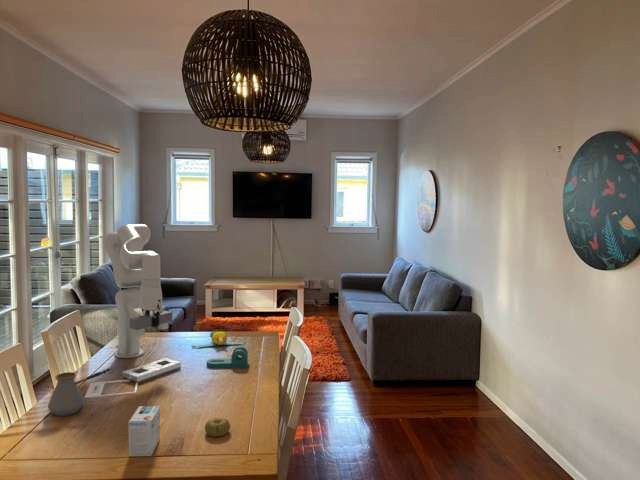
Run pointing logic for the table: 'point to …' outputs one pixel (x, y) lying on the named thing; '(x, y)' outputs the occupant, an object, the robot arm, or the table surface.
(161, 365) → the mounting plate
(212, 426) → the sculpture
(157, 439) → the light bulb box
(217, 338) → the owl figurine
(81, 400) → the coffee pot
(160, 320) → the grey bar
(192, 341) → the table surface
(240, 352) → the bracket
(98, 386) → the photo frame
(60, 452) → the table surface
